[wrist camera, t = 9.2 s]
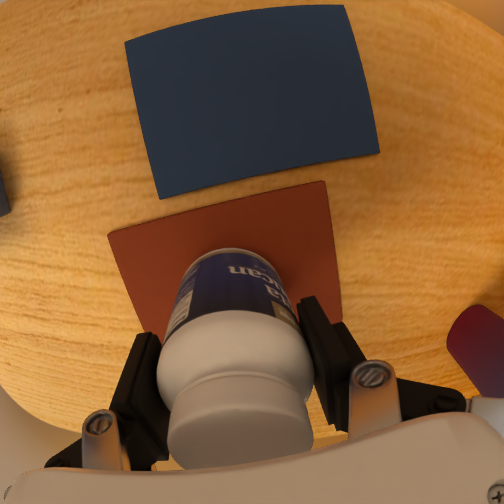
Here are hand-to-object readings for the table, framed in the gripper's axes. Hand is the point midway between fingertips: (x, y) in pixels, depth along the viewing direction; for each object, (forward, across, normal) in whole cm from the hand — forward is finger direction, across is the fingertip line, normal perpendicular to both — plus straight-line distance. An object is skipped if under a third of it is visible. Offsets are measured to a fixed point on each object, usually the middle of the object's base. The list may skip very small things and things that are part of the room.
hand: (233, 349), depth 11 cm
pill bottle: (+5, 0, 0) cm, 5 cm away
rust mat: (+6, 0, 0) cm, 6 cm away
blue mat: (+6, -4, -10) cm, 12 cm away
